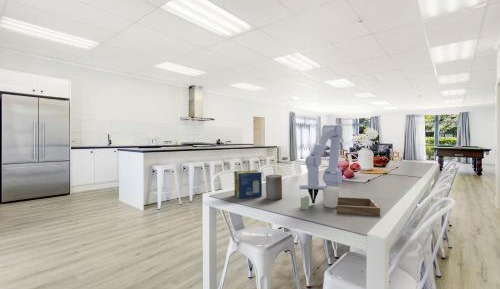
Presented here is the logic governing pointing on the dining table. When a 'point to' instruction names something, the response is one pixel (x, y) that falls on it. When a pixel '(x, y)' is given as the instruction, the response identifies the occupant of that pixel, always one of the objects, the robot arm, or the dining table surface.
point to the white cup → (330, 196)
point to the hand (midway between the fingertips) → (313, 203)
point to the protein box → (248, 183)
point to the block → (304, 202)
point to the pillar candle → (274, 187)
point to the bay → (371, 210)
